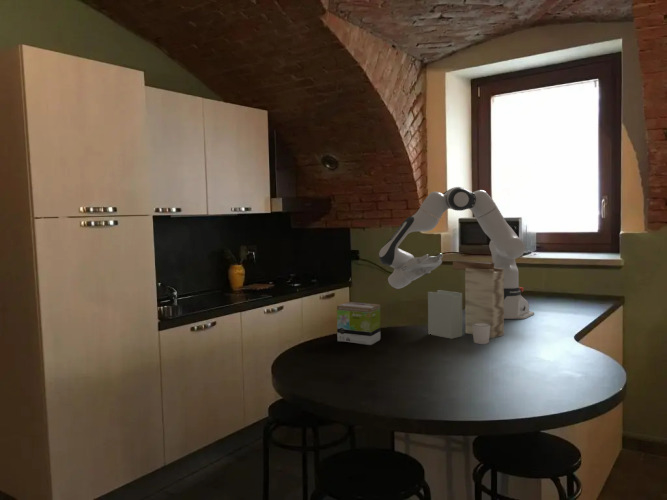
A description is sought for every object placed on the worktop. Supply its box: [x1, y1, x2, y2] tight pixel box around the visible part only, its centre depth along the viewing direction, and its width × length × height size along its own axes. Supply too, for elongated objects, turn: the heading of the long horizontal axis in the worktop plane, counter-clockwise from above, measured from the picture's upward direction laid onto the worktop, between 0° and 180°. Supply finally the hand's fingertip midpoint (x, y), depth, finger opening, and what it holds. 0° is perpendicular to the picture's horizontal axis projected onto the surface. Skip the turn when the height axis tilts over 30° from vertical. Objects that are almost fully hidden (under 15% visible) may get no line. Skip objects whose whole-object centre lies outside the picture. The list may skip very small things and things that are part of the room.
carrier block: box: [427, 289, 463, 340], centre depth 221 cm, size 7×12×18 cm, turn 40°
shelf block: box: [464, 268, 505, 339], centre depth 221 cm, size 8×13×27 cm, turn 40°
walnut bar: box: [452, 260, 494, 271], centre depth 224 cm, size 4×18×4 cm, turn 40°
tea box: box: [336, 301, 381, 346], centre depth 214 cm, size 15×10×15 cm, turn 62°
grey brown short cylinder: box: [472, 323, 490, 345], centre depth 208 cm, size 7×7×7 cm
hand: (434, 255), depth 240 cm, fingers open, 8 cm apart
